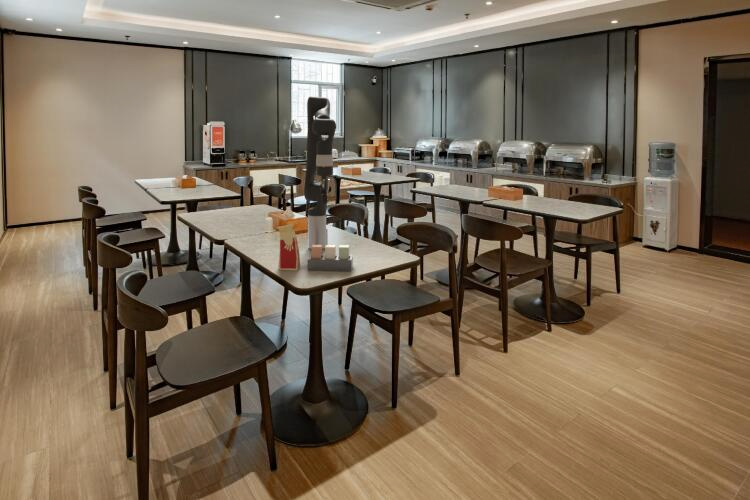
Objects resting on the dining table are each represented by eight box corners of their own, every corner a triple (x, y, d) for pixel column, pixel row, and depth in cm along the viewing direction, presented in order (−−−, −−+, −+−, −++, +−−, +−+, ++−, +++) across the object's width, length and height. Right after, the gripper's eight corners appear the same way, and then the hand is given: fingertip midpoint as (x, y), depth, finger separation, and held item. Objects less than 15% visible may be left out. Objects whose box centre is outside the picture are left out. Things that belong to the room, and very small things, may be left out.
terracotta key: (311, 263, 223) (311, 246, 221) (313, 260, 227) (312, 244, 226) (321, 263, 223) (321, 246, 221) (322, 260, 227) (322, 244, 225)
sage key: (338, 263, 223) (338, 247, 221) (339, 261, 227) (339, 245, 225) (348, 263, 223) (348, 247, 221) (349, 261, 227) (349, 245, 225)
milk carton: (300, 264, 230) (299, 221, 226) (297, 270, 221) (296, 225, 217) (279, 264, 230) (278, 221, 225) (276, 270, 221) (275, 225, 216)
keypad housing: (307, 270, 222) (307, 259, 220) (310, 265, 230) (310, 254, 229) (351, 271, 221) (351, 260, 220) (352, 265, 230) (352, 255, 229)
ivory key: (325, 263, 223) (325, 247, 221) (326, 261, 227) (326, 244, 225) (334, 263, 223) (334, 247, 221) (335, 261, 227) (335, 245, 225)
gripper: (318, 163, 235) (318, 200, 239) (314, 165, 222) (314, 205, 226) (334, 163, 235) (334, 201, 239) (331, 166, 222) (331, 205, 226)
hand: (325, 203), depth 233 cm, fingers closed
